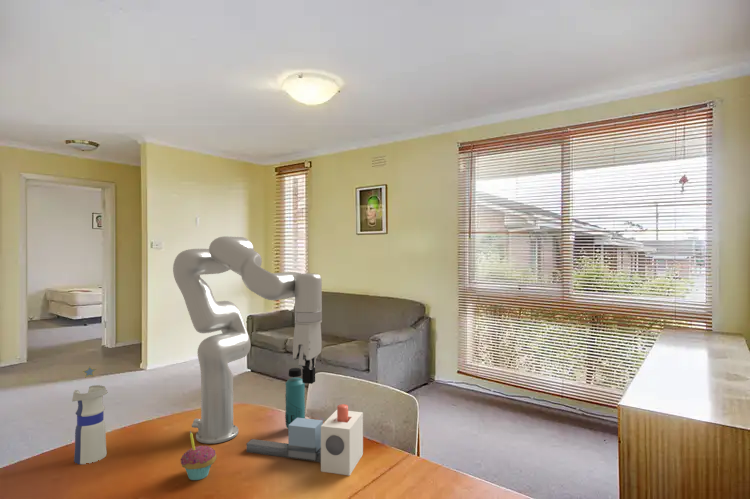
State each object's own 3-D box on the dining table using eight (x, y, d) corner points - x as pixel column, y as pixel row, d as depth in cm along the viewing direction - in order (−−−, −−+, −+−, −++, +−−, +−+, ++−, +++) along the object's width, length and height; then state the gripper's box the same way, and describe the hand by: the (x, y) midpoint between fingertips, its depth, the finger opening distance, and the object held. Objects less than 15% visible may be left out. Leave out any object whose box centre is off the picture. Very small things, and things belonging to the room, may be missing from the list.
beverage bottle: (307, 426, 142) (307, 366, 142) (302, 434, 135) (302, 371, 135) (288, 425, 143) (288, 365, 143) (282, 434, 136) (282, 371, 136)
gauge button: (335, 433, 117) (335, 407, 117) (339, 428, 120) (339, 403, 120) (346, 434, 116) (346, 408, 116) (349, 430, 119) (349, 404, 119)
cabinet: (320, 472, 113) (320, 426, 113) (336, 450, 125) (336, 409, 125) (349, 476, 111) (349, 429, 111) (362, 454, 123) (362, 412, 123)
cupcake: (181, 487, 106) (181, 438, 106) (179, 471, 113) (179, 426, 113) (218, 478, 110) (218, 432, 110) (214, 464, 117) (214, 420, 117)
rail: (246, 452, 124) (246, 443, 124) (252, 447, 127) (252, 439, 127) (327, 463, 118) (327, 454, 118) (331, 458, 120) (331, 449, 120)
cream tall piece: (64, 461, 119) (64, 371, 119) (96, 448, 126) (96, 363, 126) (81, 468, 115) (81, 375, 115) (113, 454, 123) (113, 367, 123)
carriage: (288, 456, 119) (288, 425, 119) (297, 447, 125) (297, 417, 125) (315, 460, 117) (315, 428, 117) (322, 450, 122) (322, 420, 122)
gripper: (307, 313, 129) (307, 374, 129) (283, 321, 114) (284, 389, 114) (330, 313, 127) (330, 375, 127) (309, 322, 112) (310, 392, 112)
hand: (308, 382), depth 121 cm, fingers closed
